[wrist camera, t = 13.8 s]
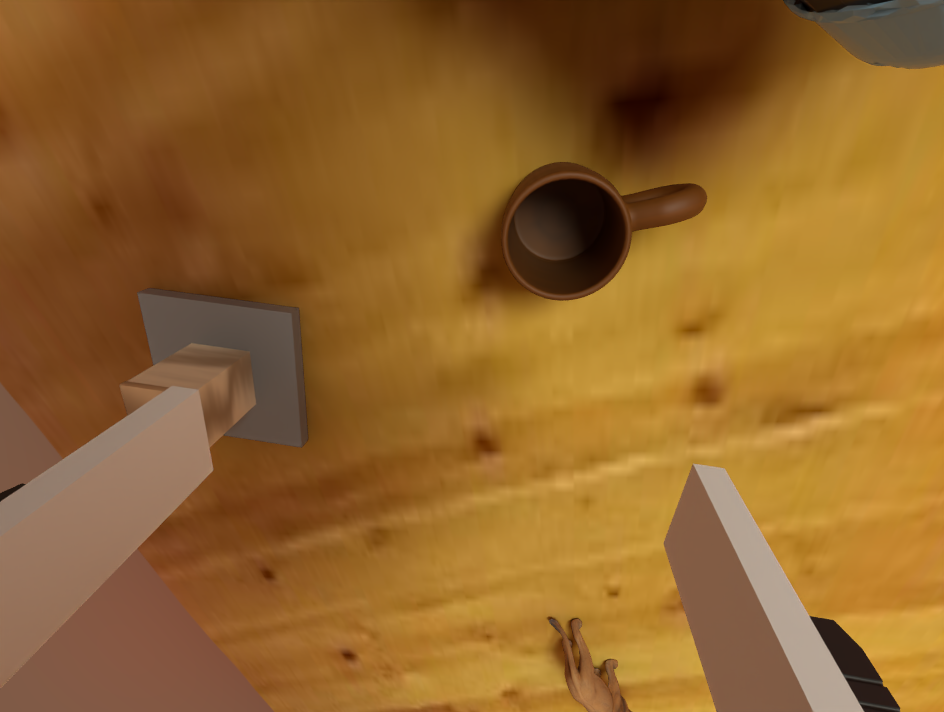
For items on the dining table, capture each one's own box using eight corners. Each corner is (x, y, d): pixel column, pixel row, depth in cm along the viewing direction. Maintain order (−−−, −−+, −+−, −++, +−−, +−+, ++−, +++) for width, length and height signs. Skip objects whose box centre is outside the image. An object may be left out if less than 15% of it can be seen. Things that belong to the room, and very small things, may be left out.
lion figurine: (647, 675, 56) (666, 766, 47) (611, 690, 58) (623, 780, 49) (566, 605, 52) (572, 691, 44) (531, 624, 54) (530, 709, 46)
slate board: (149, 287, 42) (137, 292, 41) (298, 308, 41) (291, 313, 40) (177, 418, 48) (167, 426, 47) (308, 439, 47) (301, 447, 46)
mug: (666, 127, 32) (714, 123, 23) (678, 237, 35) (725, 268, 26) (496, 178, 34) (483, 190, 26) (520, 276, 37) (516, 316, 29)
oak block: (190, 342, 42) (119, 384, 35) (250, 351, 42) (190, 395, 34) (200, 396, 44) (135, 445, 37) (256, 404, 44) (201, 456, 37)
